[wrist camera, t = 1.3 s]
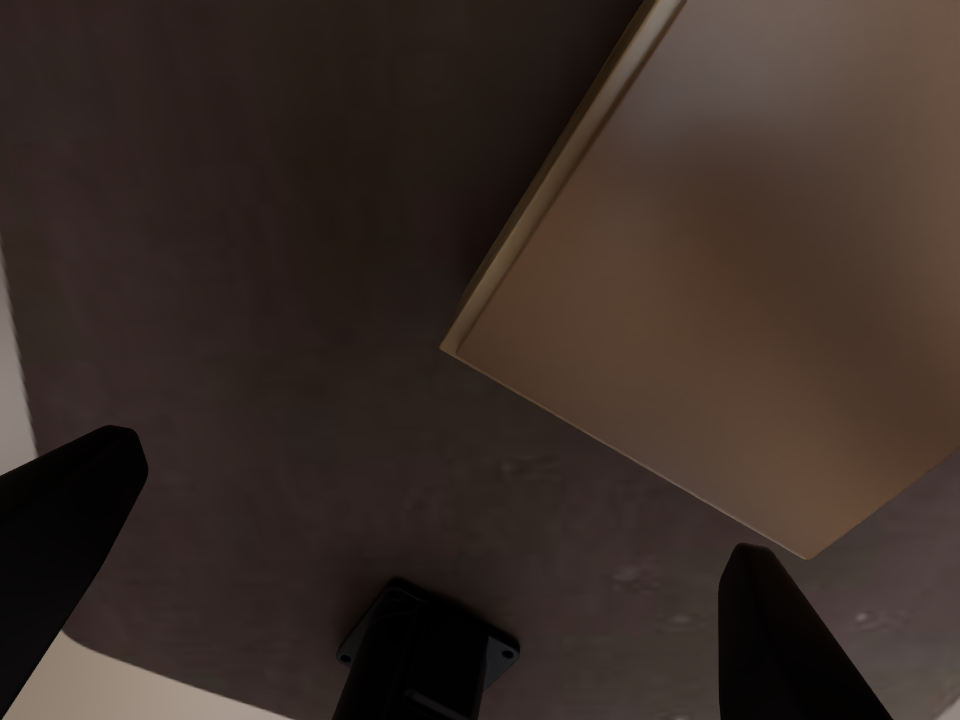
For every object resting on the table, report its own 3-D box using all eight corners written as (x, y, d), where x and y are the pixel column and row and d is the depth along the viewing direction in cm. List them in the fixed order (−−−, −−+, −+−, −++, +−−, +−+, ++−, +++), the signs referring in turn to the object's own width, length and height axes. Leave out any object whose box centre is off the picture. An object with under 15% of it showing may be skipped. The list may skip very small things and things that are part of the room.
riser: (776, 470, 22) (810, 576, 18) (466, 286, 20) (432, 358, 17) (1176, 122, 15) (1366, 171, 11) (759, -188, 14) (815, -251, 10)
